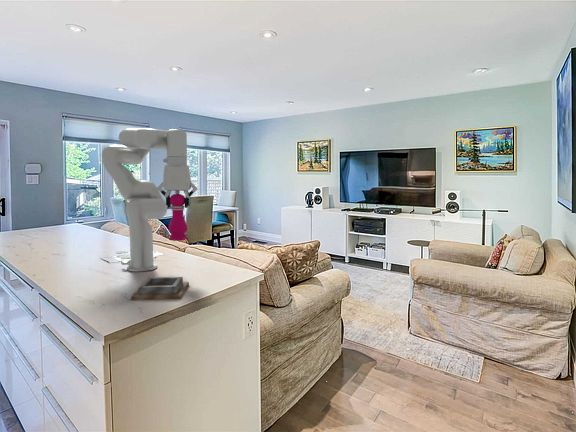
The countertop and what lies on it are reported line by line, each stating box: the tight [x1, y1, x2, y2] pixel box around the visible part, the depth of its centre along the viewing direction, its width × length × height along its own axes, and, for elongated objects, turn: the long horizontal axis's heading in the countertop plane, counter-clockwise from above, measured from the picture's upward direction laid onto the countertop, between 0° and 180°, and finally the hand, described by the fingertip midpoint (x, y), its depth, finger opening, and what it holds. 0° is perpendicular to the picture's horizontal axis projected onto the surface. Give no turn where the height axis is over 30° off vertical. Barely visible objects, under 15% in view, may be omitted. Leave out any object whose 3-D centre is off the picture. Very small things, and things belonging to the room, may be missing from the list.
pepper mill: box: [168, 191, 188, 242], centre depth 140 cm, size 7×7×20 cm
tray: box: [114, 250, 165, 261], centre depth 182 cm, size 20×28×4 cm
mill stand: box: [130, 276, 190, 301], centre depth 125 cm, size 16×16×4 cm
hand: (177, 207), depth 139 cm, fingers closed on pepper mill, 6 cm apart
